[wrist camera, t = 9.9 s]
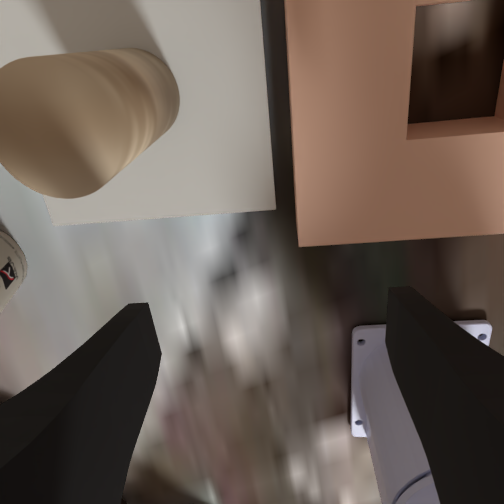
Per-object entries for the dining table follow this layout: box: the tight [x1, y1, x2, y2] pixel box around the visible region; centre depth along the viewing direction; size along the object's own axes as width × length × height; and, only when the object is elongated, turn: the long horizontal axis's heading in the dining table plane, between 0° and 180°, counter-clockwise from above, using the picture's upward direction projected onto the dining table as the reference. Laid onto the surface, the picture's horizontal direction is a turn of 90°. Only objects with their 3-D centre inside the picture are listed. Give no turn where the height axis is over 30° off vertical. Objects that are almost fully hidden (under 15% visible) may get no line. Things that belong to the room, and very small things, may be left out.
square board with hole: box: [284, 0, 504, 247], centre depth 17 cm, size 14×14×3 cm
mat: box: [0, 0, 276, 226], centre depth 19 cm, size 12×12×1 cm
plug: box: [0, 48, 180, 199], centre depth 16 cm, size 4×4×8 cm
